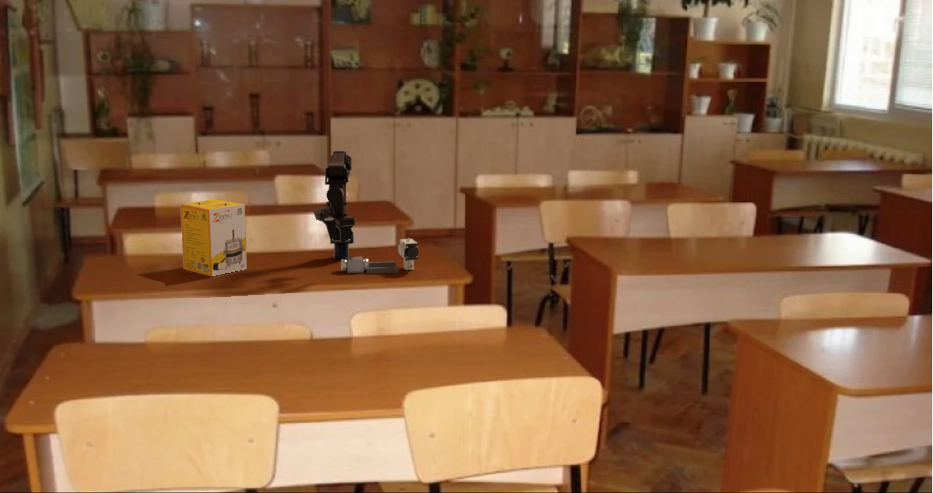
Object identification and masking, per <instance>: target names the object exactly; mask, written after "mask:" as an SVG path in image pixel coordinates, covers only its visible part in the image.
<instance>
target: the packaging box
mask: <svg viewBox="0 0 933 493" xmlns="http://www.w3.org/2000/svg"><path fill="white" fill-rule="evenodd" d="M179 208H180V225H181V227H180V229H181V243H182V244H181V246H182V264H183V266H182V267H183V268H182V270H183V269H185V270H189V271H193V272H197V273H201V274H204V275H208V276H216V275H221V274H225V273H230V274H232V273H231V272H234V273H236V272H235V271H238V272H241V271H240V270H242V271H245V269H246V270H248V269H247V268H248V265H247V264H248V262H247V238H246V237H247V236H246V235H247V234H246V233H247V232H246V230H247V229H246V204H245V203H241V202H236V201H229V200H225V199H220V198H212V199H210V198H209V199H205V200H198V201H192V202H185V203H181V204H180V207H179Z"/></svg>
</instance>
